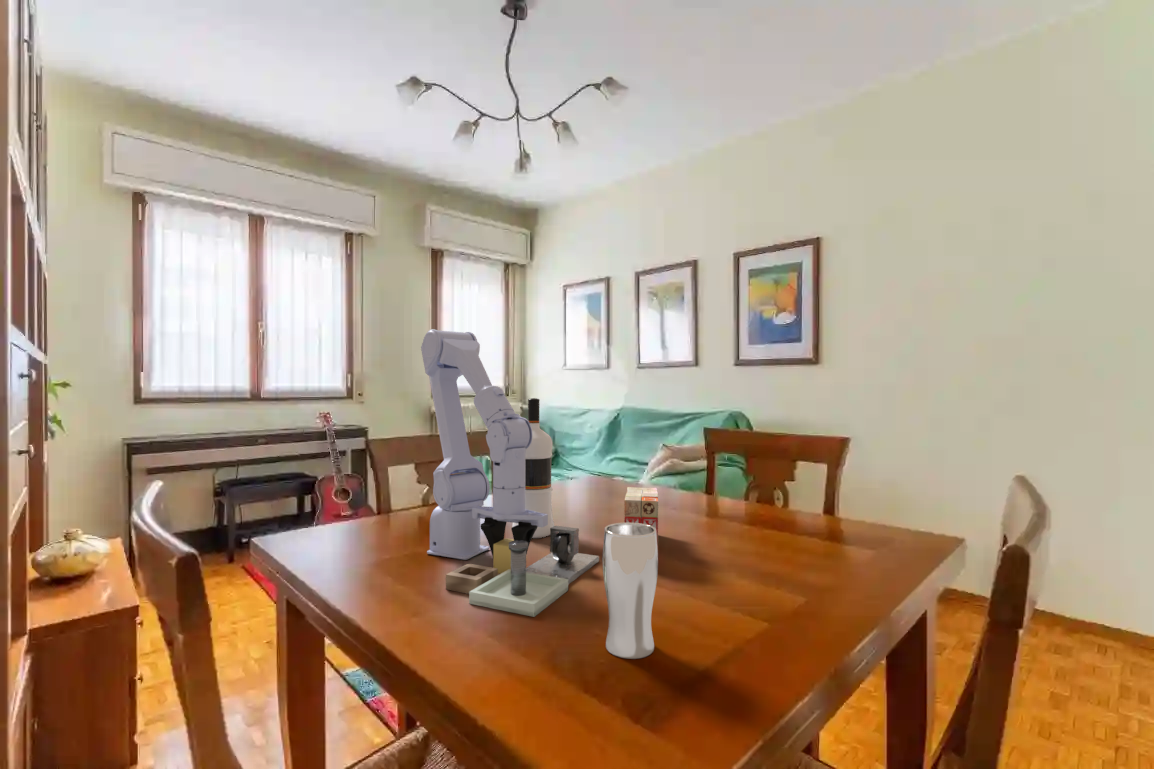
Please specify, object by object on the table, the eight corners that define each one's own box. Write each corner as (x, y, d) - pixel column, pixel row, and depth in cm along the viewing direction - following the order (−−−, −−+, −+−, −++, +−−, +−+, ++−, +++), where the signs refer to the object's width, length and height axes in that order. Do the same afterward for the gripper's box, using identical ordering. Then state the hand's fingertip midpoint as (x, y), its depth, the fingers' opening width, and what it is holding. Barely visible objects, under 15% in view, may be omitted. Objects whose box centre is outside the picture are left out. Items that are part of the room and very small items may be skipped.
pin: (505, 594, 86) (505, 544, 86) (514, 588, 88) (514, 539, 88) (522, 598, 84) (522, 546, 84) (531, 591, 87) (531, 541, 87)
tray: (469, 603, 84) (469, 591, 84) (508, 579, 94) (508, 569, 94) (534, 616, 79) (534, 604, 79) (568, 590, 89) (568, 579, 89)
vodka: (524, 541, 116) (525, 399, 116) (505, 532, 124) (505, 398, 124) (562, 535, 121) (562, 398, 121) (541, 526, 129) (541, 397, 129)
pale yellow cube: (493, 572, 98) (493, 544, 98) (505, 565, 101) (505, 538, 101) (512, 575, 96) (512, 546, 96) (524, 568, 99) (524, 541, 99)
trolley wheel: (515, 579, 94) (515, 538, 94) (556, 555, 107) (556, 518, 107) (563, 588, 90) (563, 545, 90) (598, 561, 104) (599, 524, 104)
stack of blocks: (628, 534, 123) (628, 478, 123) (657, 535, 122) (657, 479, 122) (623, 565, 102) (624, 498, 102) (658, 567, 101) (658, 499, 101)
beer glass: (599, 635, 73) (599, 522, 73) (651, 634, 74) (651, 521, 74) (606, 662, 66) (606, 536, 66) (663, 660, 67) (664, 535, 67)
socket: (445, 589, 90) (445, 574, 90) (468, 577, 95) (468, 563, 95) (476, 595, 87) (476, 580, 87) (497, 582, 92) (497, 568, 92)
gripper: (462, 486, 98) (461, 563, 98) (533, 493, 92) (533, 575, 92) (484, 480, 104) (484, 552, 104) (553, 486, 98) (553, 563, 98)
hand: (509, 562), depth 98 cm, fingers closed on pale yellow cube, 4 cm apart
